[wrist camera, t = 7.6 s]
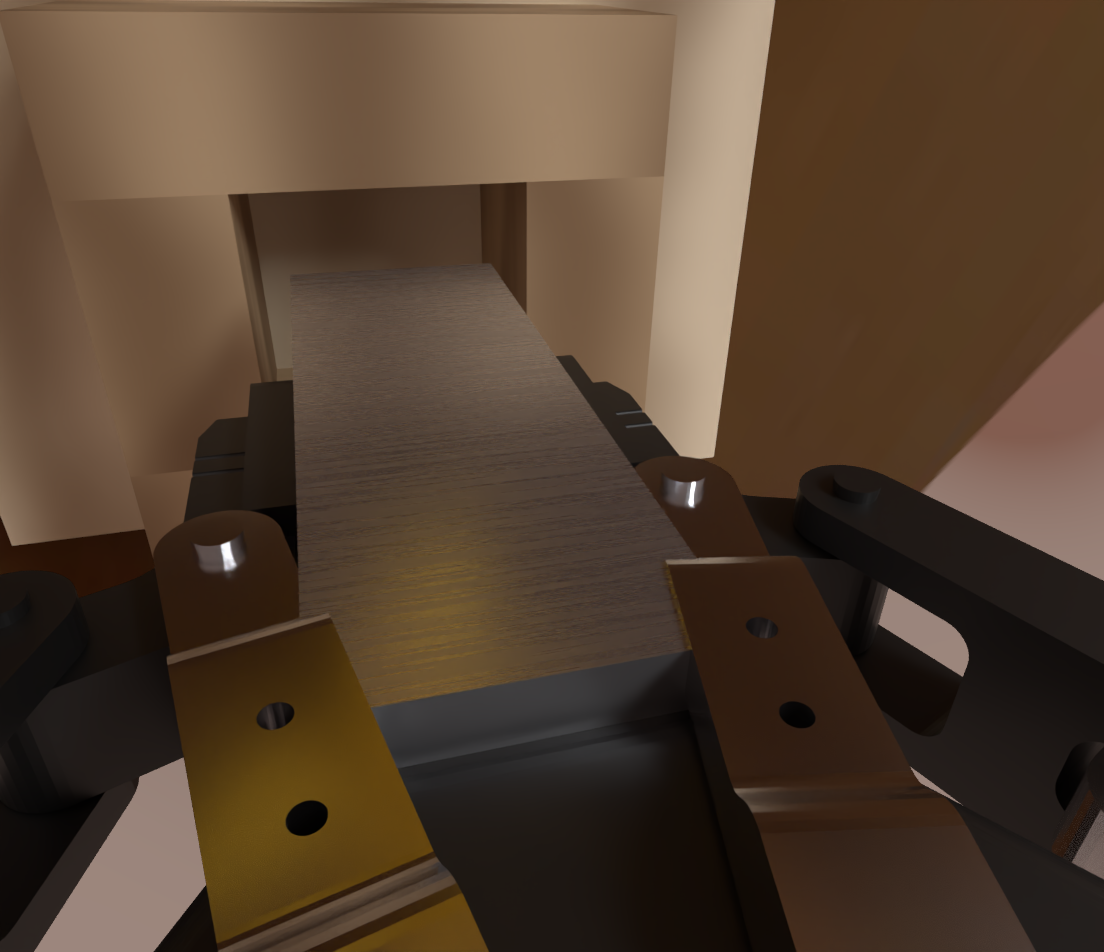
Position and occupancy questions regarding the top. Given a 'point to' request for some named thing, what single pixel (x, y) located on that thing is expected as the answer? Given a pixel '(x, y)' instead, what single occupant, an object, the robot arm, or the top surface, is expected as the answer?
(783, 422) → the top surface
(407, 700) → the gray rectangular block
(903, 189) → the top surface
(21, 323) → the stone box on board
